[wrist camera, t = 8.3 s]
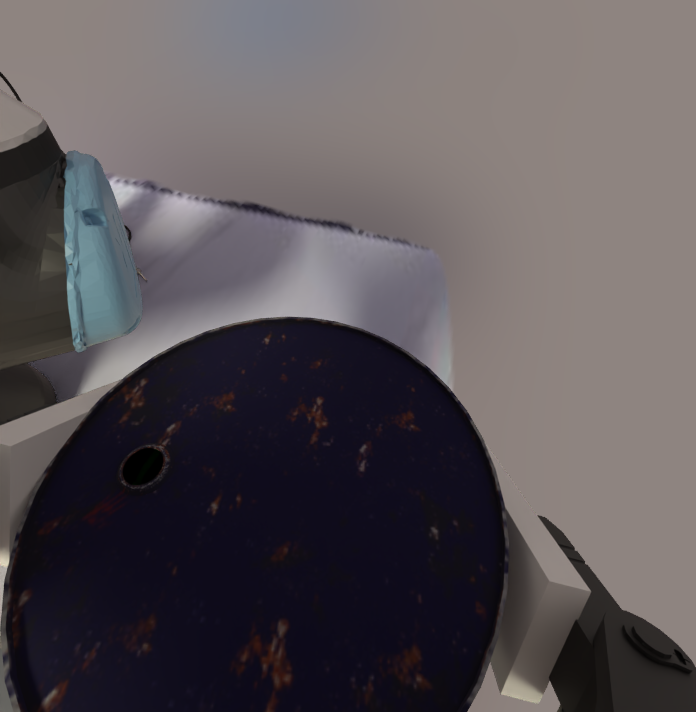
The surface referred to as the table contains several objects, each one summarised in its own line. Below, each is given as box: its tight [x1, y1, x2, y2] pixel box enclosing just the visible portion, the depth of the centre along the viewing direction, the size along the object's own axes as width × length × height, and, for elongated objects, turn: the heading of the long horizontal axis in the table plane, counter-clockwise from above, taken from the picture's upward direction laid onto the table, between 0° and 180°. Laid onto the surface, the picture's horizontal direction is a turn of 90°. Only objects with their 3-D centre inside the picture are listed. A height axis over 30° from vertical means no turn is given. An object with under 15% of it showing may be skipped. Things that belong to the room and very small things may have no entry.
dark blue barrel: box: [0, 317, 509, 712], centre depth 13 cm, size 10×10×15 cm
